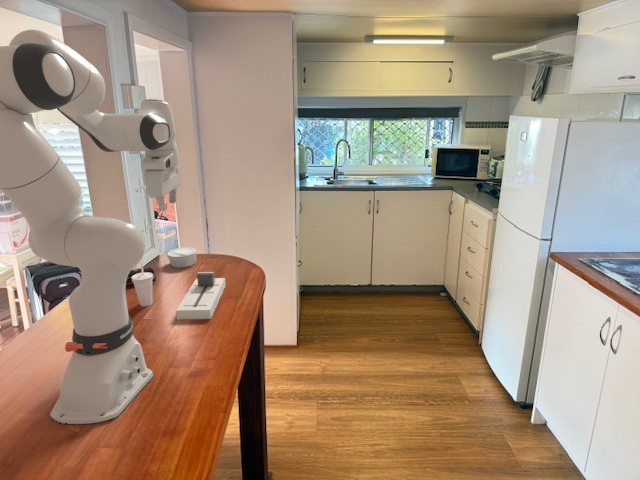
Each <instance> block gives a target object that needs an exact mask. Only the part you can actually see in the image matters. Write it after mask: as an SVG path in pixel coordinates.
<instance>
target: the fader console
mask: <svg viewBox="0 0 640 480" xmlns="http://www.w3.org/2000/svg"><path fill="white" fill-rule="evenodd" d="M224 288H225V289H226V278H225V277H217V278H216V277H215V283H214V285H213V286H198V280H197V278H195V280H194V281H193V283H192V284H191V286H190V287H189V289H188V290H187V293H186V294H185V295H184V297H183V299H182V300H181V302H180V303H179V305H178V307H177V308H176V309H175V313H176V314H175V315H176V320H211V319H212V317H213V316H214V313H215V310H216V309H215V308H217V306H218V304H219V302H220V300H221V298H222V295H223V293H224V291H225V289H224ZM223 290H224V291H223ZM220 297H221V298H220ZM219 299H220V300H219Z"/></svg>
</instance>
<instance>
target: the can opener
mask: <svg viewBox="0 0 640 480" xmlns="http://www.w3.org/2000/svg"><path fill="white" fill-rule="evenodd" d="M143 271H144V272H149V273H152V274H153V279H152V284H154V283H155V282H156V281H157V277H156V275H155V270H154V268H153V267H145V268H144V267H143ZM138 273H142V271H141V268H140V269H135V268H133V269H132V270H131V271H130V272H129V274H128V277H127V281H126V285H128V284H131V283H132V284H133V282H132V276H133V275H135V274H138Z"/></svg>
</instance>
